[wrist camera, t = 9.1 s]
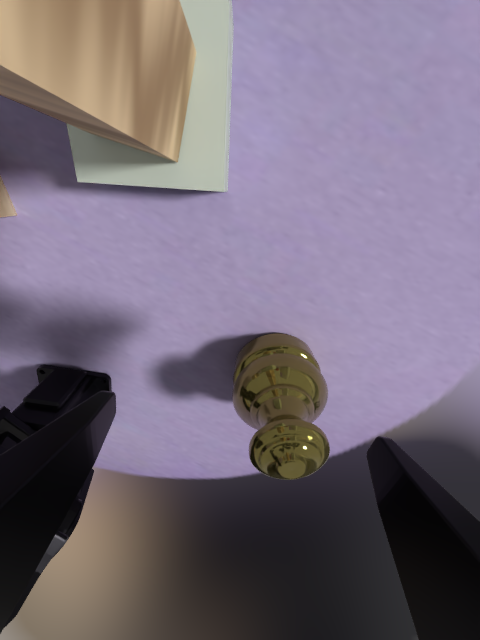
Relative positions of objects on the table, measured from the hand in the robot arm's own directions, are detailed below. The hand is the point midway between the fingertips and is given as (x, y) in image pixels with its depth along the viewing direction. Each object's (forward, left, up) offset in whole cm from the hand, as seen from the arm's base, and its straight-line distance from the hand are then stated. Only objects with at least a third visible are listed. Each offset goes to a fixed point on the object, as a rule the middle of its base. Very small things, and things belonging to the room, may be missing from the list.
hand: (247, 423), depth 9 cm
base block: (+10, +7, -14) cm, 18 cm away
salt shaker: (-7, -4, -14) cm, 16 cm away
